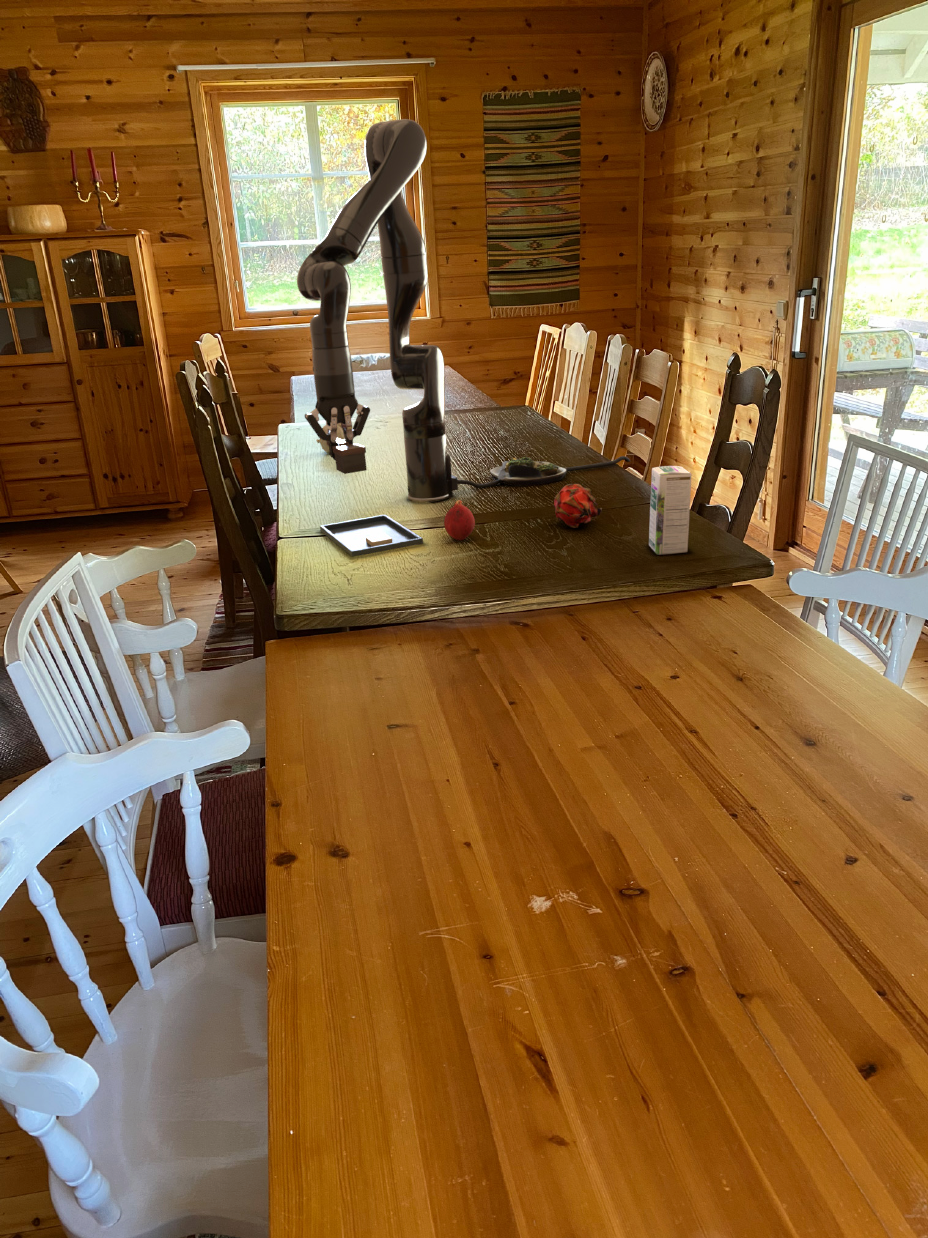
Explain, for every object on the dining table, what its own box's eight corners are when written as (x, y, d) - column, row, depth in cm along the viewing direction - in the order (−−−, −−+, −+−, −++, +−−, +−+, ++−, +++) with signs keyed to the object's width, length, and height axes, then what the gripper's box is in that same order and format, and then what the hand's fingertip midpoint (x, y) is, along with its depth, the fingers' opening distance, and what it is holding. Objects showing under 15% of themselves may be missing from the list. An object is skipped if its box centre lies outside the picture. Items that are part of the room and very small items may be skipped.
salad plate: (474, 472, 227) (473, 454, 225) (540, 463, 232) (540, 445, 230) (504, 489, 210) (503, 469, 208) (574, 479, 215) (574, 460, 213)
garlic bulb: (350, 458, 263) (359, 424, 260) (343, 459, 255) (352, 424, 252) (319, 448, 263) (327, 414, 261) (311, 449, 255) (319, 414, 252)
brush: (368, 470, 180) (365, 444, 178) (344, 474, 178) (341, 448, 176) (344, 459, 191) (342, 435, 190) (321, 463, 189) (318, 439, 188)
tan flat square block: (385, 538, 178) (384, 533, 178) (392, 543, 175) (392, 538, 174) (365, 541, 177) (365, 536, 176) (372, 547, 173) (372, 542, 173)
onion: (472, 546, 172) (470, 504, 169) (442, 545, 173) (439, 504, 170) (478, 536, 177) (476, 496, 174) (449, 536, 178) (446, 496, 175)
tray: (386, 520, 191) (385, 514, 190) (423, 545, 174) (422, 538, 173) (320, 532, 186) (319, 525, 185) (352, 558, 169) (351, 551, 168)
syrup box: (647, 545, 166) (649, 466, 161) (679, 543, 167) (682, 464, 161) (656, 555, 161) (658, 474, 155) (689, 552, 161) (692, 471, 156)
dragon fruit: (568, 522, 188) (588, 546, 178) (536, 503, 184) (555, 527, 174) (593, 488, 186) (614, 511, 176) (561, 468, 182) (582, 490, 172)
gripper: (304, 376, 172) (315, 467, 179) (373, 368, 177) (381, 457, 184) (293, 372, 178) (304, 460, 185) (359, 365, 184) (368, 450, 190)
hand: (342, 458), depth 184 cm, fingers closed on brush
